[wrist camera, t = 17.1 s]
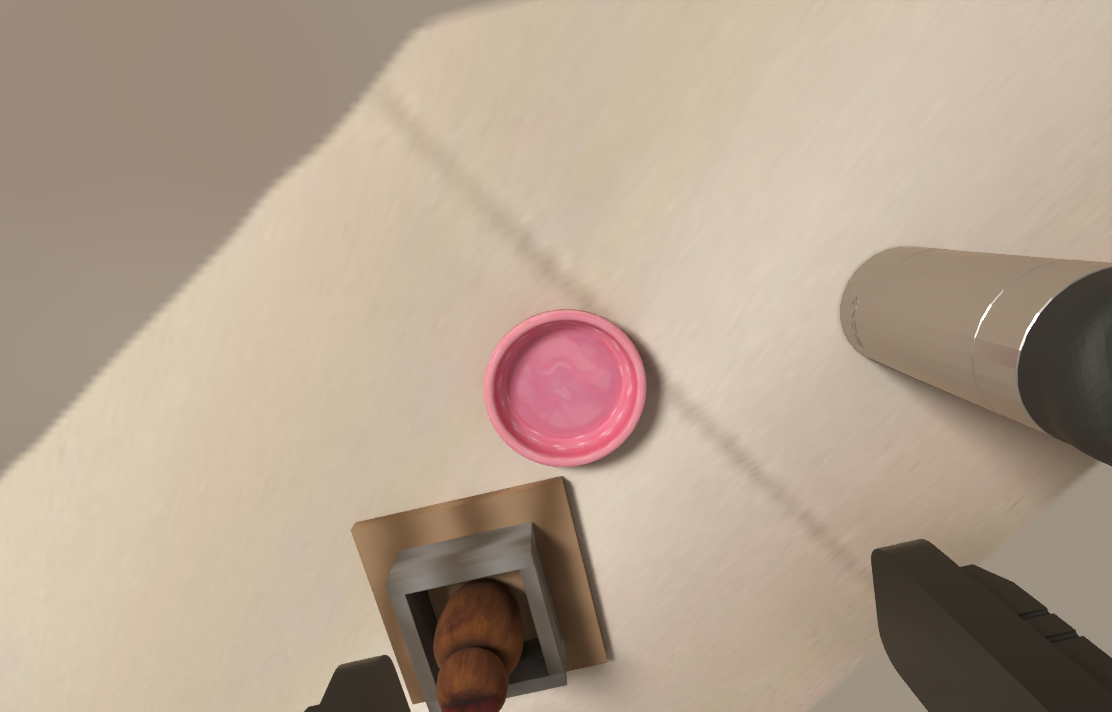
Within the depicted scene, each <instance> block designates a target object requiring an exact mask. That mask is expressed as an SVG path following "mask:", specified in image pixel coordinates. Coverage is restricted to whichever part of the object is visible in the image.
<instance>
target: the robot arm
mask: <svg viewBox="0 0 1112 712" xmlns="http://www.w3.org/2000/svg"><path fill="white" fill-rule="evenodd" d="M840 319H841V324H842V328H843V331H844V333H845V335H846V338H847V340H848V341H849V342H850V344H851V345H852V346H853V347H854V348H855V349H856V350H857V351H858V352H860V353H861V354H862V355H864V356H866V357H868V358H870V359H873V360H875V361H877V362H880V363H882V364H884V365H886V366H889V367H891V368H893V369H895V370H897V371H900V372H902V373H904V374H907V375H909V376H911V377H914V378H916V379H918V380H921V381H923V382H925V383H928V384H930V385H932V386H935V387H937V388H939V389H942V390H944V391H946V392H949V393H951V394H953V395H956V396H958V397H960V398H963V399H965V400H967V401H970V402H972V403H974V404H977V405H979V406H981V407H984V408H986V409H988V410H991V411H993V412H995V413H998V414H1000V415H1002V416H1005V417H1007V418H1010V419H1012V420H1015V421H1017V422H1019V423H1022V424H1024V425H1026V426H1029V427H1031V428H1033V429H1036V430H1038V431H1040V432H1043V433H1045V434H1047V435H1050V436H1052V437H1054V438H1057V439H1059V440H1062V441H1064V442H1066V443H1069V444H1071V445H1073V446H1075V447H1076V448H1077V449H1079V450H1080V451H1082V452H1084V453H1086V454H1087V455H1089V456H1091V457H1093V458H1095V459H1097V460H1099V461H1101V462H1103V463H1106V464H1108V465H1110V466H1112V263H1107V262H1095V261H1082V260H1066V259H1054V258H1042V257H1030V256H1018V255H1006V254H994V253H981V252H969V251H957V250H948V249H935V248H923V247H897V248H892V249H888V250H885V251H883V252H881V253H879V254H876V255H875V256H873V257H872V258H870V259H869V260H867V261H866V262H865V263H864V264H863V265H862V266H861V267H860V268H859V269H858V270H857V271H856V272H855V273H854V275H853V276H852V278H851V279H850V281H849V282H848V284H847V286H846V289H845V291H844V293H843V297H842V302H841V306H840ZM871 564H872V573H873V582H874V591H875V600H876V609H877V619H878V627H879V633H880V637H881V640H882V643H883V646H884V648H885V650H886V653H887V655H888V657H889V659H890V661H891V663H892V664H893V666H894V668H895V669H896V671H897V672H898V673H899V675H900V676H901V677H902V679H903V680H904V681H905V682H906V684H907V685H908V686H909V688H910V689H911V690H912V691H913V693H914V694H915V695H916V696H917V698H918V699H919V700H920V701H921V703H922V704H923V705H924V706H925V708H926V709H927V710H928V712H1112V658H1111V657H1110V656H1108V655H1107V654H1106V653H1105V652H1103V651H1102V650H1101V649H1099V648H1098V647H1097V646H1095V645H1094V644H1093V643H1092V642H1090V641H1089V640H1088V639H1086V638H1085V637H1084V636H1081V637H1079V636H1078V634H1077V633H1076V630H1075V629H1073V628H1072V627H1071V626H1069V625H1068V624H1067V623H1066V622H1064V621H1063V620H1062V619H1060V618H1059V617H1058V616H1057V615H1055V614H1050V613H1049V612H1048V610H1047V608H1046V607H1045V606H1044V605H1042V604H1041V603H1040V602H1038V601H1037V600H1036V599H1034V598H1033V597H1032V596H1031V595H1029V594H1028V593H1027V592H1025V591H1024V590H1023V589H1022V588H1020V587H1019V586H1018V585H1016V584H1015V583H1014V582H1011V581H1009V580H1007V579H1005V578H1002V577H1000V576H998V575H996V574H993V573H991V572H989V571H987V570H984V569H982V568H980V567H978V566H975V565H973V564H972V565H968V566H963V567H959V566H958V565H957V564H956V563H955V562H953V561H952V560H951V559H950V558H949V557H947V556H946V555H945V554H944V553H943V552H941V551H940V550H939V549H938V548H937V547H935V546H934V545H933V544H932V543H930V542H929V541H927V540H924V539H919V540H914V541H910V542H905V543H900V544H896V545H891V546H887V547H882V548H878V549H875V550H873V552H872V555H871ZM304 712H411V711H410V708H409V706H408V703H407V700H406V697H405V694H404V692H403V689H402V686H401V683H400V680H399V678H398V675H397V672H396V669H395V667H394V664H393V662H392V660H391V659H390V657H389V656H387V655H382V656H377V657H373V658H368V659H363V660H359V661H354V662H350V663H345V664H342V665H340V666H338V668H337V669H336V670H335V672H334V674H333V676H332V678H331V681H330V683H329V685H328V687H327V689H326V692H325V694H324V696H323V698H322V700H321V703H320V704H319V705H315V706H310V707H308V708H307V709H306V710H305V711H304Z"/></svg>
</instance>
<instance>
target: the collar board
mask: <svg viewBox="0 0 1112 712" xmlns="http://www.w3.org/2000/svg"><path fill="white" fill-rule="evenodd" d="M351 532H352V535H353V538H354V541H355V544H356V546H357V549H358V552H359V555H360V558H361V560H362V563H363V566H364V569H365V572H366V574H367V577H368V580H369V583H370V586H371V589H372V591H373V594H374V597H375V600H376V603H377V605H378V608H379V611H380V614H381V617H382V619H383V622H384V625H385V628H386V631H387V633H388V636H389V639H390V642H391V645H392V648H393V650H394V653H395V656H396V659H397V662H398V664H399V667H400V670H401V673H402V676H403V678H404V681H405V684H406V687H407V690H408V692H409V695H410V698H411V701H412V704H417V703H421V702H426V704H427V707H428V709H429V712H442V710H441V708H440V706H439V703H438V701H437V696H436V687H437V678H438V673H439V671H440V668H439V667H438V664H437V662H436V659H435V656H434V649H433V644H434V636H435V631H436V628H437V624H438V621H439V618H440V616H441V614H442V612H443V610H444V608H445V606H446V604H447V602H448V601H449V599H450V597H451V596H452V594H453V593H454V592H455V591H456V590H457V589H459V588H460V587H462V586H463V585H465V584H466V583H467V582H470V581H474V580H491V581H495V582H498V583H500V584H502V585H504V586H505V587H507V588H508V590H509V591H510V592H511V593H512V595H513V596H514V597H515V598H516V600H517V602H518V605H519V609H520V615H521V620H522V625H523V648H522V653H521V657H520V660H519V662H518V665H517V666H516V668H515V669H514V670H513V672H512V673H511V674H510V675H509V676H508V682H509V684H508V691H507V695H506V698H509V697H513V696H518V695H523V694H527V693H532V692H537V691H541V690H546V689H550V688H555V687H560V686H564V685H567V676H566V671H570V670H574V669H579V668H584V667H588V666H593V665H597V664H602V663H607V655H606V650H605V646H604V642H603V638H602V634H601V630H600V626H599V622H598V618H597V614H596V610H595V606H594V602H593V598H592V594H591V590H590V586H589V582H588V578H587V574H586V570H585V566H584V562H583V558H582V554H581V550H580V546H579V542H578V538H577V534H576V529H575V525H574V521H573V517H572V513H571V509H570V505H569V501H568V497H567V493H566V489H565V485H564V481H563V477H562V476H560V477H556V478H552V479H547V480H543V481H538V482H534V483H529V484H525V485H520V486H516V487H512V488H507V489H503V490H498V491H494V492H489V493H485V494H480V495H476V496H472V497H467V498H463V499H458V500H454V501H449V502H445V503H441V504H436V505H432V506H427V507H423V508H418V509H414V510H409V511H405V512H401V513H396V514H392V515H387V516H383V517H378V518H374V519H370V520H365V521H361V522H356V523H355V524H354V526H353V527H352V529H351Z"/></svg>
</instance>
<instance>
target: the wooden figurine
mask: <svg viewBox="0 0 1112 712" xmlns="http://www.w3.org/2000/svg"><path fill="white" fill-rule="evenodd" d="M522 648H523V625H522V620H521V615H520V609H519V605H518V602H517V600H516V598H515V597H514V596H513V595H512V593H511V592H510V591H509V590H508V588H507V587H505V586H504V585H502V584H500V583H498V582H495V581H491V580H474V581H470V582H467V583H466V584H465V585H463V586H462V587H460V588H459V589H457V590H456V591H455V592H454V593H453V594H452V596H451V597H450V599H449V601H448V602H447V604H446V606H445V608H444V610H443V612H442V614H441V616H440V618H439V621H438V624H437V628H436V631H435V636H434V644H433V649H434V656H435V659H436V662H437V664H438V667H439V668H440V671H439V673H438V678H437V687H436V696H437V701H438V703H439V706H440V708H441V710H442V712H499V711H500V709H501V708H502V706H503V704H504V702H505V700H506V695H507V691H508V684H509V682H508V676H509V675H510V674H511V673H512V672H513V670H514V669H515V668H516V666H517V665H518V662H519V660H520V657H521V653H522Z"/></svg>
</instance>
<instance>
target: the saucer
mask: <svg viewBox="0 0 1112 712" xmlns="http://www.w3.org/2000/svg"><path fill="white" fill-rule="evenodd" d="M646 391H647V381H646V374H645V369H644V365H643V362H642V359H641V357H640V354H639V352H638V350H637V349H636V347H635V345H634V344H633V343H632V341H631V340H630V339H629V337H628V336H627V335H626V334H625V333H624V332H623V331H622V330H621V329H620V328H618V327H617V326H616V325H614V324H613V323H611V322H610V321H608V320H607V319H605V318H603V317H601V316H598V315H596V314H593V313H590V312H586V311H581V310H573V309H560V310H552V311H547V312H543V313H540V314H537V315H534V316H532V317H530V318H528V319H526V320H524V321H523V322H521V323H520V324H518V325H517V326H515V327H514V328H513V329H512V330H510V331H509V332H508V333H507V334H506V335H505V336H504V338H503V339H502V340H501V341H500V342H499V344H498V345H497V347H496V348H495V350H494V352H493V354H492V356H491V358H490V360H489V363H488V366H487V370H486V374H485V380H484V400H485V406H486V410H487V413H488V416H489V419H490V421H491V423H492V425H493V427H494V429H495V430H496V432H497V433H498V434H499V436H500V437H501V438H502V439H503V441H504V442H505V443H506V444H507V445H508V446H510V447H511V448H512V449H513V450H514V451H516V452H517V453H519V454H520V455H522V456H524V457H525V458H527V459H530V460H532V461H534V462H537V463H540V464H544V465H548V466H555V467H573V466H580V465H585V464H588V463H591V462H594V461H597V460H599V459H601V458H603V457H605V456H607V455H609V454H610V453H612V452H613V451H614V450H616V449H617V448H618V447H619V446H620V445H622V444H623V443H624V442H625V441H626V439H627V438H628V437H629V436H630V434H631V433H632V432H633V430H634V429H635V427H636V426H637V424H638V422H639V420H640V417H641V415H642V412H643V409H644V405H645V400H646Z"/></svg>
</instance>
